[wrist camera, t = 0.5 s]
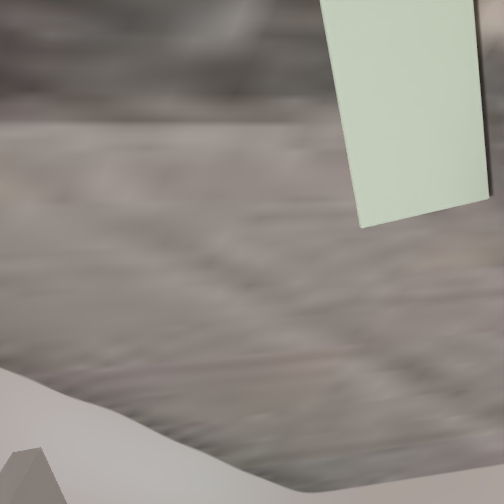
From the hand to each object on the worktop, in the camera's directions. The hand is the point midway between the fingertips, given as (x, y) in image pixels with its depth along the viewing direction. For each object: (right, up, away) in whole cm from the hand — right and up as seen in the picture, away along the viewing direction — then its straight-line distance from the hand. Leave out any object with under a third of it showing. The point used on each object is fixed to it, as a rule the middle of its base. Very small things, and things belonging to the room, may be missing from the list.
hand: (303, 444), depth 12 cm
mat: (+8, +23, +21) cm, 32 cm away
